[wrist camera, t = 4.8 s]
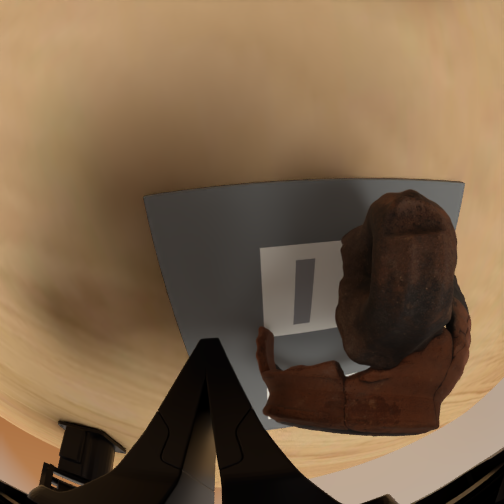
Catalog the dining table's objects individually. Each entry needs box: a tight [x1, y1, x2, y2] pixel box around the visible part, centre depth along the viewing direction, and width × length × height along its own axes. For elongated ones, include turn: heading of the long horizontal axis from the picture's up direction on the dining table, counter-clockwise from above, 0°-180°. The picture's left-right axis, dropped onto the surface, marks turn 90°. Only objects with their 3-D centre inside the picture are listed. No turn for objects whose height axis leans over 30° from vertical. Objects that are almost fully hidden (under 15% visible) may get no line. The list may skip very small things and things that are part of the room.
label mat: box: [143, 178, 465, 430], centre depth 14 cm, size 20×14×1 cm
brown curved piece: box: [256, 189, 471, 436], centre depth 9 cm, size 12×10×8 cm
